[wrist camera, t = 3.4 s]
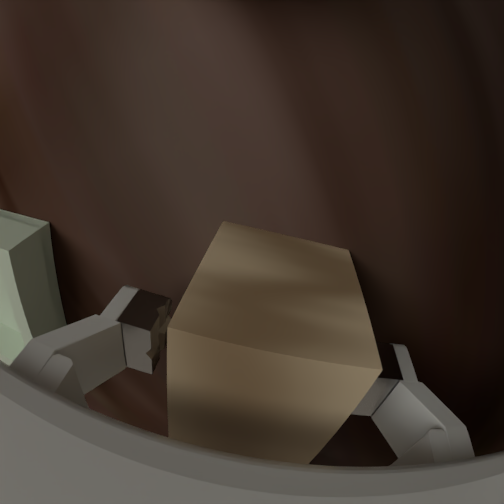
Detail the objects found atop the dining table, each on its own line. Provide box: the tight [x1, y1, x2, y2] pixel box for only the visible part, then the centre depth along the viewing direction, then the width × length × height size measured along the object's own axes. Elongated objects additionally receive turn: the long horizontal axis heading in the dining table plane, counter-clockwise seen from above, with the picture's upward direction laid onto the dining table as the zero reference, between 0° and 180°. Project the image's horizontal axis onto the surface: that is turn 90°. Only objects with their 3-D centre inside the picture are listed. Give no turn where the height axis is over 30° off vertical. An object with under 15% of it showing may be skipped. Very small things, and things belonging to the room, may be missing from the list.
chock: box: [167, 221, 383, 464], centre depth 9 cm, size 4×5×5 cm
